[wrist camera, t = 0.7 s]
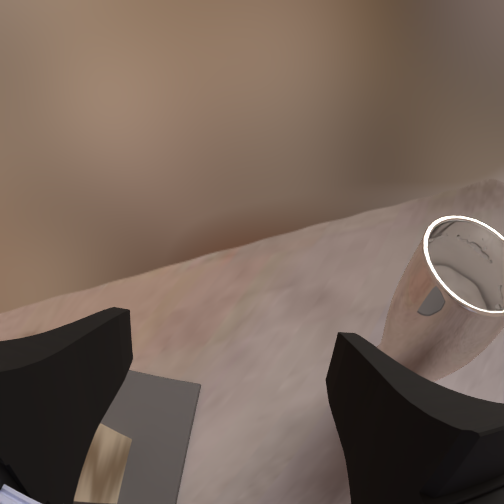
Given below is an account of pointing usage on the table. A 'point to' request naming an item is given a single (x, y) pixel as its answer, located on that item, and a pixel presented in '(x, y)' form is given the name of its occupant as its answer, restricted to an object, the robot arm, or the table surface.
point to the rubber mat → (152, 435)
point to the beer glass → (447, 299)
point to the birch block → (103, 467)
